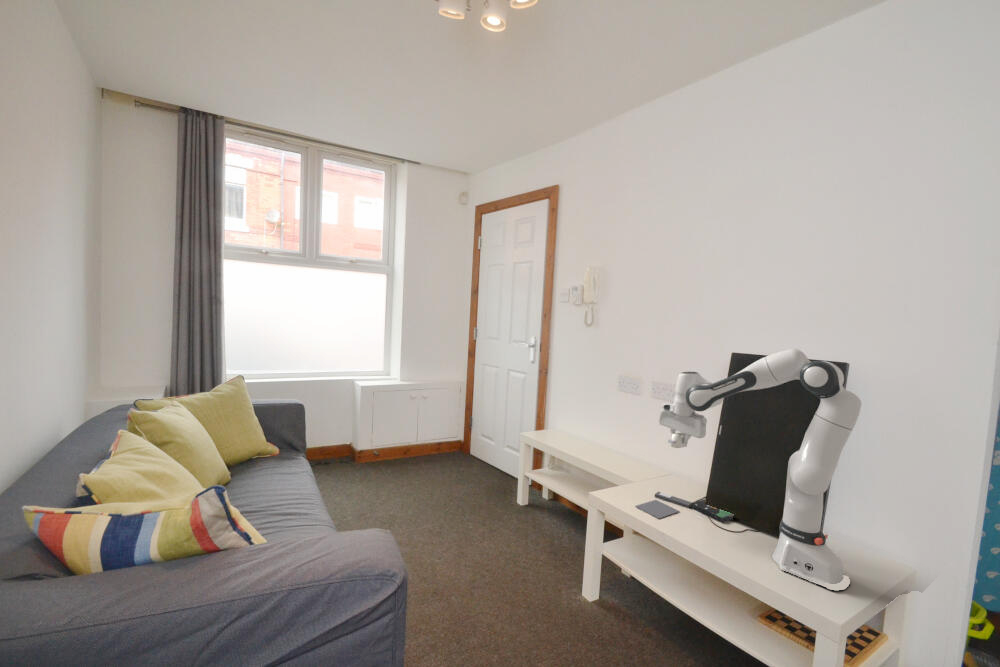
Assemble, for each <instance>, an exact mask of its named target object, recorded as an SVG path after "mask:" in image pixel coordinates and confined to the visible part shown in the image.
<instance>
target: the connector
mask: <svg viewBox="0 0 1000 667" xmlns="http://www.w3.org/2000/svg"><path fill="white" fill-rule="evenodd" d="M685 438H686V436H685V433H682V432H675V433H674V434H671V438H668V440H667V443H668V444H670V447H671V448H674V449H681V448H686V447H688V443H687V444H683V443H682V439H685Z"/></svg>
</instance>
